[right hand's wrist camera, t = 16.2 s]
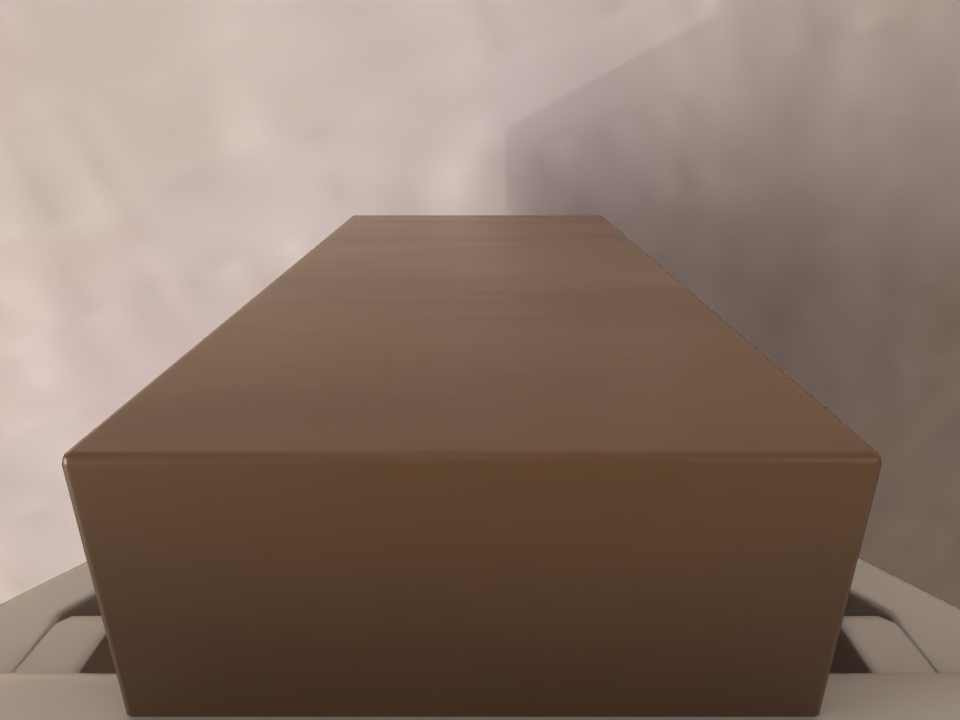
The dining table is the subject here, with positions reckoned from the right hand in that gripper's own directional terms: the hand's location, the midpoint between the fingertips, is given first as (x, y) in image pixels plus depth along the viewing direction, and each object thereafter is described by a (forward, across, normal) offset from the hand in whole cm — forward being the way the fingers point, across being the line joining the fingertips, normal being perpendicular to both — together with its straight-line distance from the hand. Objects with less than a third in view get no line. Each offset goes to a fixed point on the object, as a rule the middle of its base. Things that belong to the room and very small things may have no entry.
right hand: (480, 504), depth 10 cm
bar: (+4, 0, -9) cm, 10 cm away
